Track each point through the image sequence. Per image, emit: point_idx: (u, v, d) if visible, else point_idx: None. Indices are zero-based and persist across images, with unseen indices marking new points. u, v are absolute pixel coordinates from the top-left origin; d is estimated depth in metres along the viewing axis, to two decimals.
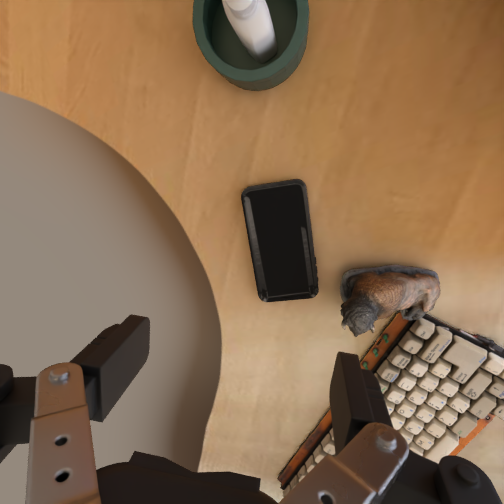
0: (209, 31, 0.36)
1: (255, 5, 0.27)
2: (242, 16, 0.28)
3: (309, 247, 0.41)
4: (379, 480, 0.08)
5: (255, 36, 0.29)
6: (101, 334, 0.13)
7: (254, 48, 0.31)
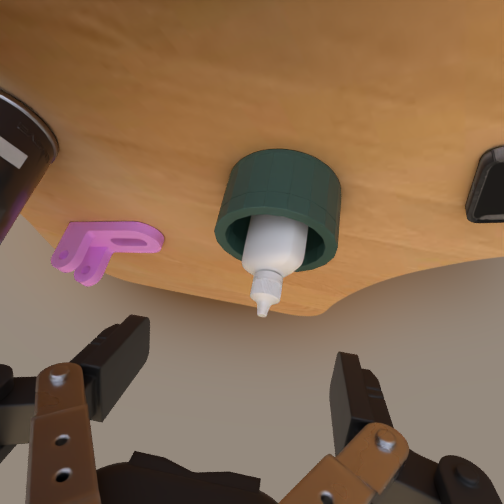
0: None
1: (271, 277, 0.27)
2: (281, 283, 0.28)
3: None
4: (379, 480, 0.08)
5: (296, 265, 0.27)
6: (101, 334, 0.13)
7: (304, 250, 0.28)
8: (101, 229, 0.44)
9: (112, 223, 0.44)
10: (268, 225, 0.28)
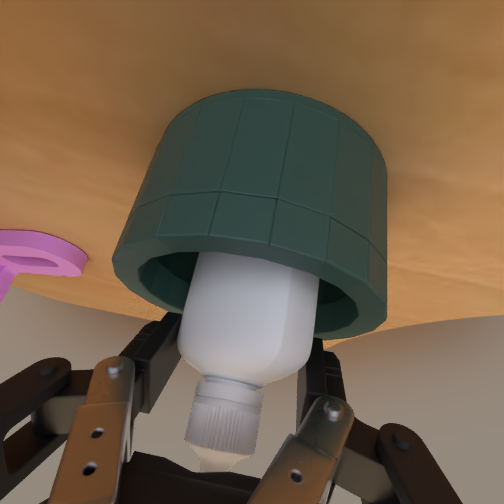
0: None
1: (234, 400, 0.11)
2: (259, 407, 0.12)
3: None
4: (335, 447, 0.09)
5: (294, 369, 0.11)
6: (142, 330, 0.14)
7: (313, 327, 0.12)
8: None
9: None
10: (232, 267, 0.13)
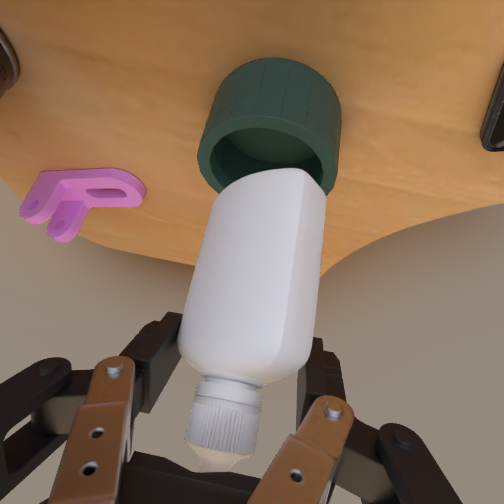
0: None
1: (233, 400, 0.11)
2: (259, 407, 0.12)
3: None
4: (335, 447, 0.09)
5: (293, 369, 0.11)
6: (142, 330, 0.14)
7: (313, 327, 0.12)
8: (75, 177, 0.40)
9: (87, 171, 0.40)
10: (232, 267, 0.13)
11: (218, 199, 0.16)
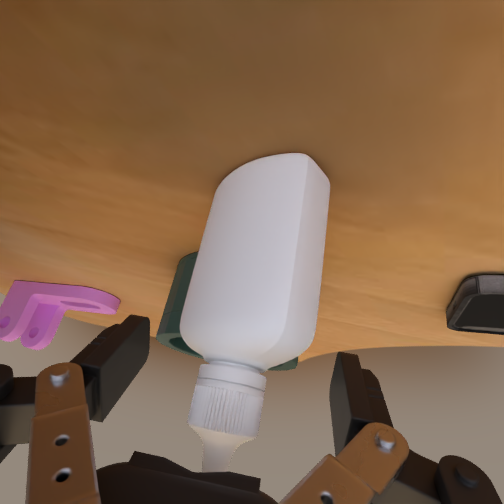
0: None
1: (237, 382, 0.11)
2: (262, 390, 0.12)
3: None
4: (379, 480, 0.08)
5: (297, 351, 0.11)
6: (101, 334, 0.13)
7: (317, 310, 0.12)
8: (47, 293, 0.39)
9: (60, 286, 0.39)
10: (236, 250, 0.13)
11: (221, 186, 0.16)
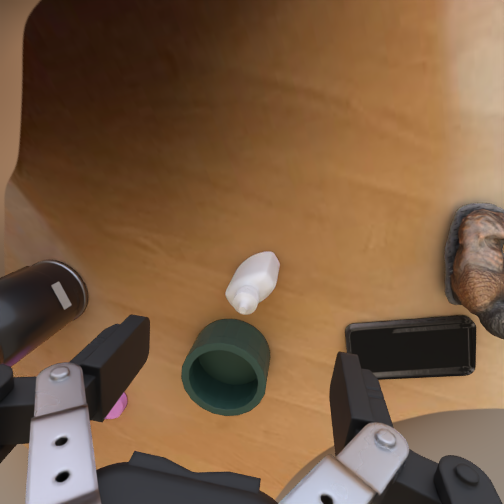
0: (229, 388, 0.47)
1: (251, 287, 0.34)
2: (258, 298, 0.34)
3: (415, 326, 0.41)
4: (379, 480, 0.08)
5: (270, 285, 0.35)
6: (101, 334, 0.13)
7: None
8: None
9: None
10: (249, 266, 0.38)
11: (240, 265, 0.43)
